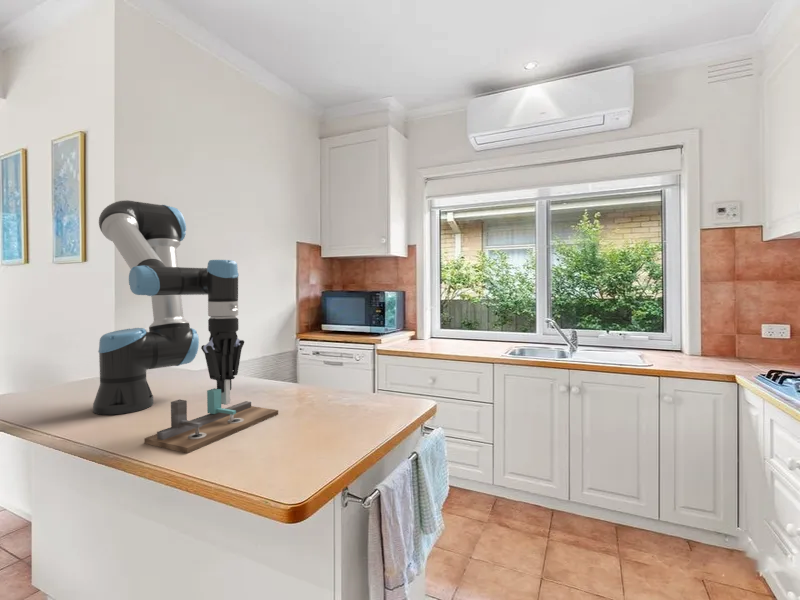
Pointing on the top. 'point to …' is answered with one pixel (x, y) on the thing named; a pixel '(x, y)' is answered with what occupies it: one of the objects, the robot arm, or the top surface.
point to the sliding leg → (217, 403)
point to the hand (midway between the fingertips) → (224, 403)
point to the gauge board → (205, 426)
